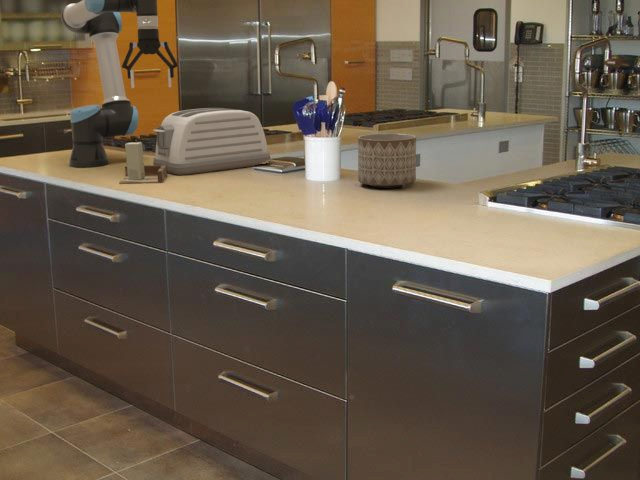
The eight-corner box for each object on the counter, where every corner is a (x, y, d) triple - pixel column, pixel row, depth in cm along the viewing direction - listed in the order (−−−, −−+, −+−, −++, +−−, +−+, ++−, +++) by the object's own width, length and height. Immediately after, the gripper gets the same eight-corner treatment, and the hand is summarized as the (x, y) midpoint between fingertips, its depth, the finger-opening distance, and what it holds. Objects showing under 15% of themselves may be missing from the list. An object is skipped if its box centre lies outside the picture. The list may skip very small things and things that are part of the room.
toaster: (145, 170, 342) (141, 112, 336) (243, 158, 368) (241, 104, 363) (173, 177, 324) (170, 116, 319) (274, 164, 350) (272, 107, 345)
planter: (348, 183, 304) (348, 135, 300) (398, 178, 312) (398, 131, 308) (374, 192, 287) (374, 141, 283) (426, 187, 294) (426, 137, 291)
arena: (126, 176, 326) (125, 166, 326) (167, 175, 327) (166, 164, 326) (119, 183, 312) (118, 172, 311) (162, 182, 312) (161, 171, 312)
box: (145, 177, 320) (143, 142, 317) (141, 179, 316) (138, 143, 313) (131, 177, 321) (129, 142, 318) (126, 179, 316) (124, 143, 313)
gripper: (111, 28, 318) (115, 88, 323) (181, 27, 320) (184, 87, 325) (115, 28, 326) (119, 87, 331) (183, 27, 327) (186, 85, 332)
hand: (151, 87), depth 328 cm, fingers open, 13 cm apart
